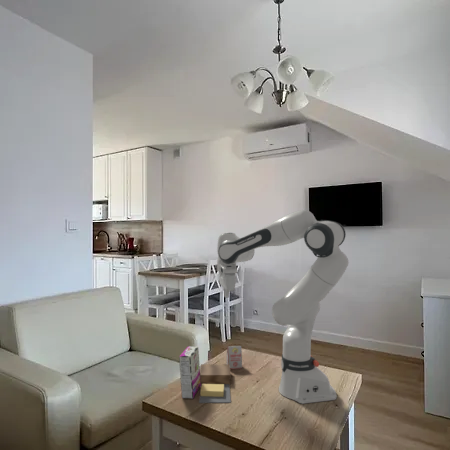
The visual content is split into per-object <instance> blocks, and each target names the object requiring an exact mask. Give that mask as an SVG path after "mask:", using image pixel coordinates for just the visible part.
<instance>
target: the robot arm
mask: <svg viewBox="0 0 450 450" xmlns="http://www.w3.org/2000/svg"><path fill="white" fill-rule="evenodd" d="M346 237H347V236H346V230H345V227H344V226H343V225H342V224H341V223H340V222H337V221H334V220H327V219H320V220H317V219H316V217H315V216H314V213H312V212H311V211H310V210H307V209H301V210H297V211H294V212H291V213H289V214H286V215H284V216H282V217H280V218H278V219H277V220H275V221H273V222H271V223H268V224H267V225H266V226H264V227H262V228H260V229H258V230H256V231H254V232H252V233H249V234H247V235H244V236H243V237H239V236H237V235H236V233H234V232H227V233H226V232H225V233H221V234H220V235H219V237H218V239H217V249H216V250H217V251H216V252H217V256H218V257H217V261H216V262H217V264H216V265H217V266H216V267H217V269H216V271H217V273H218V272H219V277H218V279H219V281H218V283H219V285H220V286H221V287H222V288H223V296H224V298H225V299H228V298H230V292H231V291H232V292H234V291H235V288H236V282H237V281H236V280H237V279H236V278H237V275H236V274H237V273H238V268H237V263H242V262H243V263H244V262H248V261H251V260H252V259H253V257H254V255H255V249H258V248H263V247H279V246H280V247H281V246H285V245H289V244H292V243H296V242H297V241H299V240H301V239H303V240H304V243H305V245H306V247H307V248H308V249H309V250H310V251H311V252H312V253H313V255H314V256H315V257H316V260H315V261H314V263H313V264H312V265H311V266H310V267H309V269H308V270H307V271H306V273H305V274H304V275H303V277H302V278H301V279H300V280H299V281H298V282H297V283H296V284H295V285H294V286H292V288H291V289H289V290H288V292H287V291H286V293H285V294H284V295H283V296H282V297H281V298H280V299H278V300H277V301H276V302H274V303H273V305H272V307H271V315H272V318H273V320H274V322H276V324H278V325H280V326H285V327H286V326H287V328H286V330H285V332H284V333H283V336H282V354H281V360H280V361H281V363H280V365H281V379H280V382H279V387H278V392H279V393H280V394H281V396H283V397H285V398H287V399H289V400H293V401H295V402H297V403H299V404H303V405H304V404H311V403H319V402H328V401H336V400H337V391H336V390H335V388H334V387H333V386H332V385H331V383H330V380H329V377H328V376H327V374H326V373H324V372H323V371H322V370H321V369H320V368H319V366H320V362H319V361H318V360H316V358H314V357H313V355H311V348H312V347H311V346H312V345H311V344H312V342H311V341H312V333H313V330H314V324H315V321H316V317H317V315H318V313H319V312H320V308H321V304H320V302H321V301H323V300H324V299H325V298H326V297H327V295H329V293H330V292H331V290H333V288H334V287H335V286H336V284H337V283H338V282H339V281H340V279H342V277H343V275H344V274H345V272H346V270H347V269H348V268H347V267H348V266H349V259H348V257H347V255H346V254H345V253H344V252H343V251H342V250H341V249H340V246H341V245H342V244H344V243H343V242H344V241H345V239H346Z"/></svg>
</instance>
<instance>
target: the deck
mask: <svg viewBox="0 0 450 450" xmlns="http://www.w3.org/2000/svg"><path fill="white" fill-rule="evenodd" d="M200 364H201V363H200ZM200 379H201V384H229V385H230V386H231V385H232V383H231V381H232V380H231V369H230V364H227V363H225V364H221V363H220V364H219V363H217V364H216V363H215V364H214V363H213V364H207V363H206V364H205V363H204V364H201V365H200Z"/></svg>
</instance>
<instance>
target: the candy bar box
mask: <svg viewBox="0 0 450 450" xmlns="http://www.w3.org/2000/svg"><path fill="white" fill-rule="evenodd" d="M178 359H179V373H180V374H179V375H180V385H181V386H180V389H181V390H180V391H181V398H182V399H192V400H193V399H194V398H195V396H196V395H197V393H198V392H199V389H201V379H200V370H201V365H200V354H199V346H197V345H196V346H193V345H191V346H190V345H189V346H187V347H186V348H185V349H184V350H183V352H181V354H180V355H179V356H178Z"/></svg>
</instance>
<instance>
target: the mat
mask: <svg viewBox="0 0 450 450" xmlns="http://www.w3.org/2000/svg"><path fill="white" fill-rule="evenodd" d="M201 387H202V384H201V386H200V388H199V389H200V391H201ZM200 391H199V392H200ZM231 398H232V397H231V385H229V384H224V396H223V397H215V396H200V395H199V400H198V403H199V404H223V403H224V404H232V400H231Z"/></svg>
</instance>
